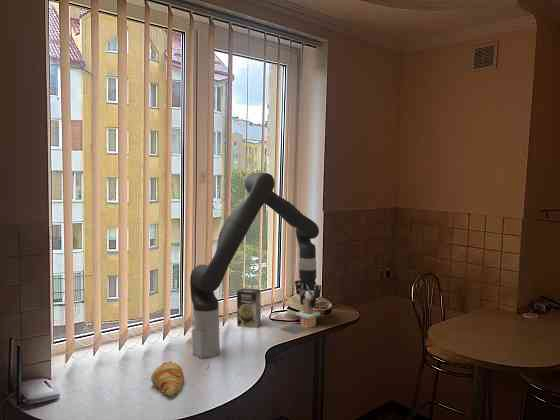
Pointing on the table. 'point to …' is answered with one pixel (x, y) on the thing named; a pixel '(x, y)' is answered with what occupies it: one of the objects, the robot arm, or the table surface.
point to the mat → (294, 329)
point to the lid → (307, 310)
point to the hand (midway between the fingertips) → (308, 305)
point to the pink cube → (308, 322)
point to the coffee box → (248, 308)
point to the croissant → (168, 378)
